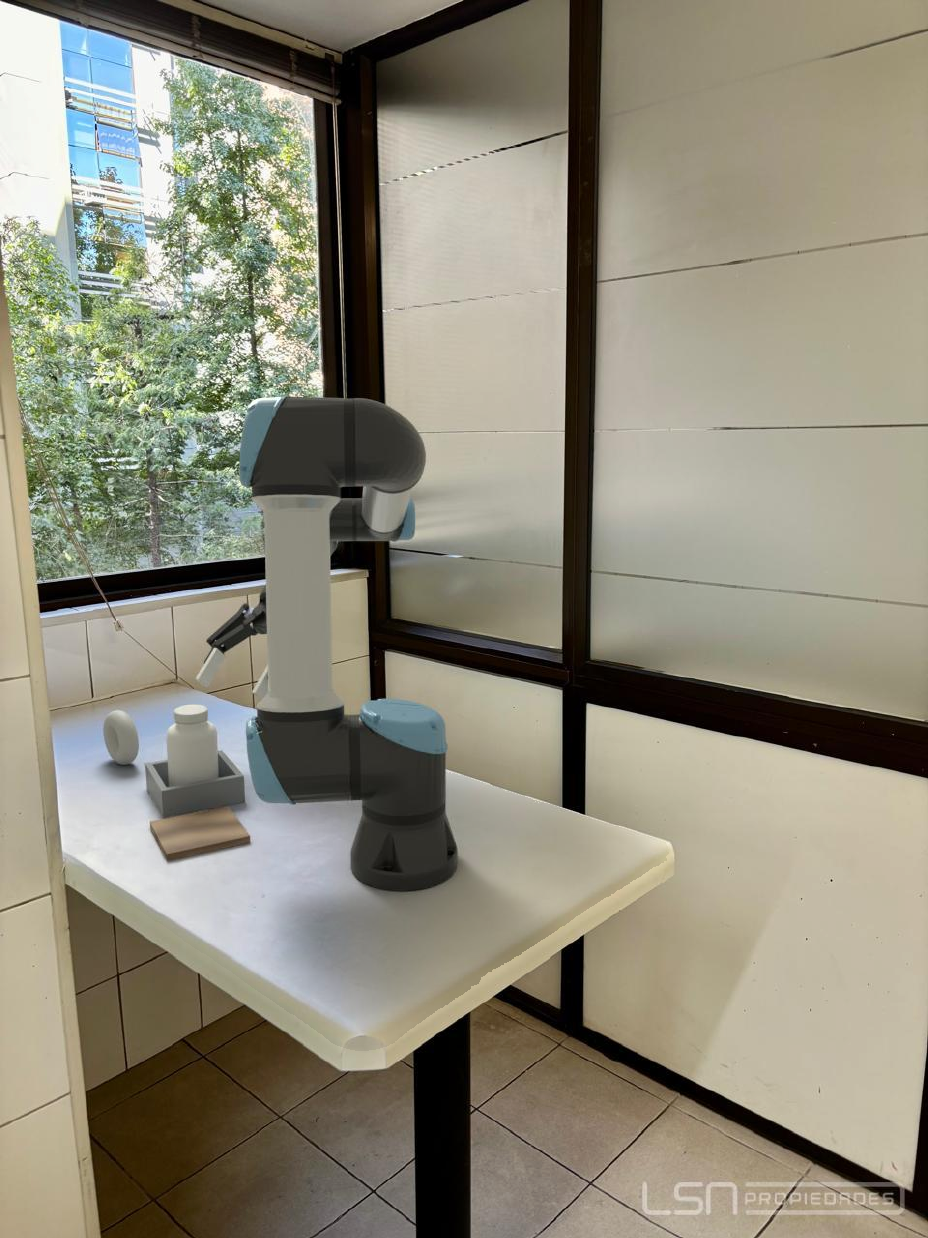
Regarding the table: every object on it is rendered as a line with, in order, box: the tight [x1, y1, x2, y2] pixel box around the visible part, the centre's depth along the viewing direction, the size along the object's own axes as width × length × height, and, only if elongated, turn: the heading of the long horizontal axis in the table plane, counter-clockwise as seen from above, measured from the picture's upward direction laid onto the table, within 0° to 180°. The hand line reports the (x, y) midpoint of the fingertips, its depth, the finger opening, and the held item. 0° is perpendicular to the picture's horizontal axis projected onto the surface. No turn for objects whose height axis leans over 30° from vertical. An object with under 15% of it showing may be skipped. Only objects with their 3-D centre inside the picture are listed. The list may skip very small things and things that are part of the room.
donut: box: [102, 709, 140, 766], centre depth 163 cm, size 10×4×10 cm, turn 43°
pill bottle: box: [166, 704, 219, 787], centre depth 149 cm, size 8×8×15 cm
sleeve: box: [144, 750, 246, 819], centre depth 150 cm, size 13×13×4 cm
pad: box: [149, 805, 251, 862], centre depth 136 cm, size 12×12×1 cm
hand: (228, 690), depth 155 cm, fingers open, 13 cm apart
